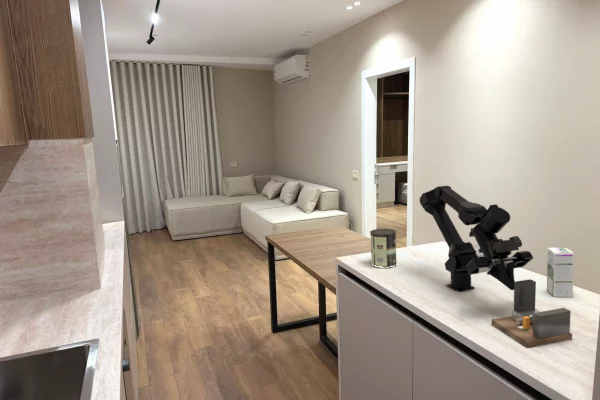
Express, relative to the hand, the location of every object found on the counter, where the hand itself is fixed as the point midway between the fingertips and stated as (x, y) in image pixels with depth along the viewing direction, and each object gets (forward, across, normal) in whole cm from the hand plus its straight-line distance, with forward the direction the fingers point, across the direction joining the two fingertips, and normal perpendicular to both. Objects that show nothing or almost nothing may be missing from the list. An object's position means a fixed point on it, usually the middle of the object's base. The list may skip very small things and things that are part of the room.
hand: (513, 289), depth 115 cm
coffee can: (-34, -14, +47) cm, 60 cm away
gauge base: (+12, -2, 0) cm, 12 cm away
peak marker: (+11, -4, -2) cm, 12 cm away
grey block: (-23, +16, +36) cm, 45 cm away
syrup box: (-1, +25, +13) cm, 28 cm away
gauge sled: (+9, -1, +1) cm, 9 cm away
